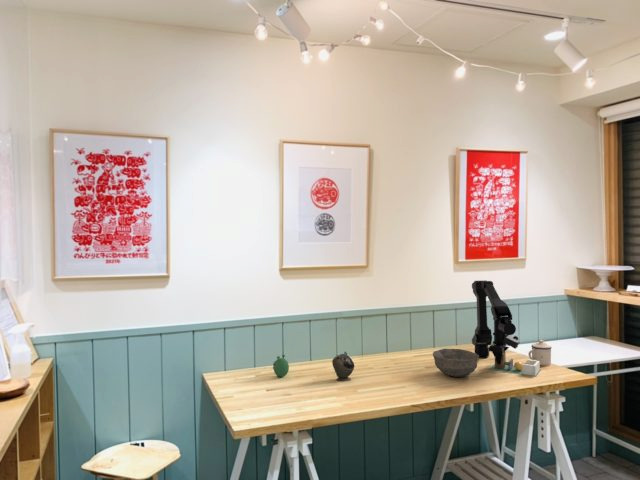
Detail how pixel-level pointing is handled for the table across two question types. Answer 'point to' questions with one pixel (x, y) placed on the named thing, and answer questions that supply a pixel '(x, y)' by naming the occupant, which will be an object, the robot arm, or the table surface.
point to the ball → (518, 366)
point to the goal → (531, 367)
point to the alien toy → (281, 366)
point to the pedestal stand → (504, 363)
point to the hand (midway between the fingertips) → (500, 363)
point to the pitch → (510, 370)
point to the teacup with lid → (541, 352)
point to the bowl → (455, 361)
